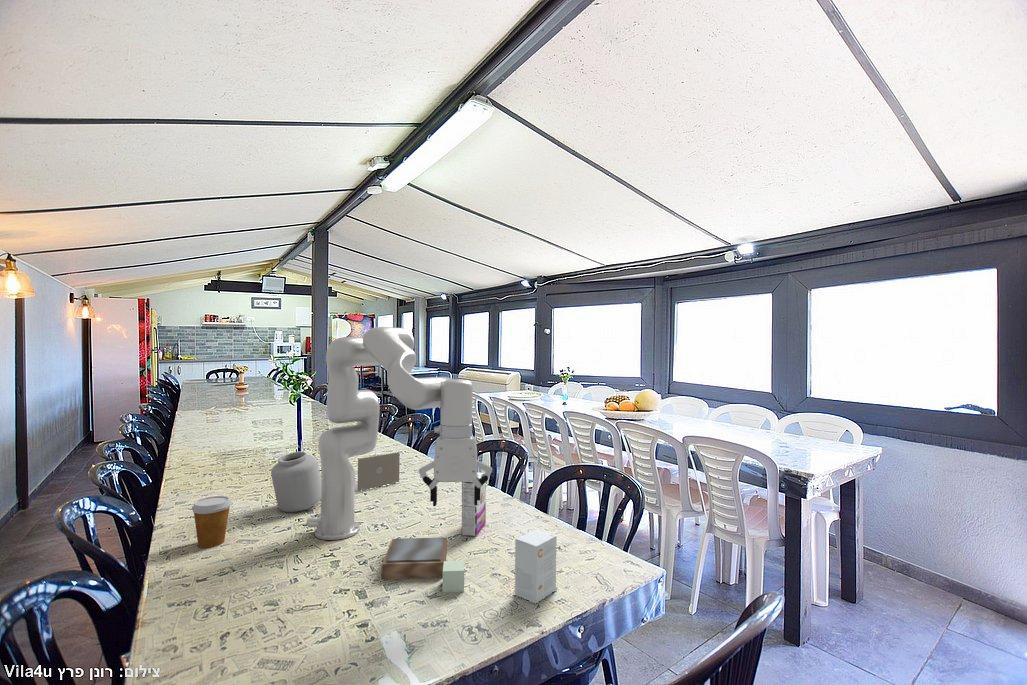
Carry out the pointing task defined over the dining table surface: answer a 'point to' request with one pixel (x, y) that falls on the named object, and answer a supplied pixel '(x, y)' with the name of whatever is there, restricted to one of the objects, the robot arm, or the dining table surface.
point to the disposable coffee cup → (211, 520)
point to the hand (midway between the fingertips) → (455, 503)
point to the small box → (535, 565)
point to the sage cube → (453, 576)
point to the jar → (296, 481)
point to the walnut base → (415, 558)
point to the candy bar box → (473, 508)
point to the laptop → (377, 471)
